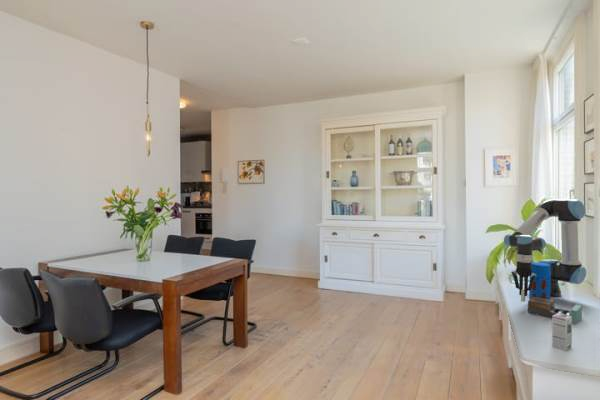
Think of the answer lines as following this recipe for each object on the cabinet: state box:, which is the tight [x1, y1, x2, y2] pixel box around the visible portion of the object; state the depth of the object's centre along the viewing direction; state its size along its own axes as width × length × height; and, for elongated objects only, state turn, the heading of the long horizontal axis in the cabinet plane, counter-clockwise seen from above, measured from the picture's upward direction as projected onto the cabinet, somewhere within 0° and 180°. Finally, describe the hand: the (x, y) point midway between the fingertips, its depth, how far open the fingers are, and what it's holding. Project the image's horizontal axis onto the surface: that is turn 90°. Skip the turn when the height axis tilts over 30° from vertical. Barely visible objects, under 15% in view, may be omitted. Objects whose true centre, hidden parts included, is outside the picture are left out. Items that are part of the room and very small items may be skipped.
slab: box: [527, 297, 555, 312], centre depth 210 cm, size 12×10×4 cm
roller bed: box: [527, 307, 571, 319], centre depth 206 cm, size 11×20×3 cm, turn 43°
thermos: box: [528, 261, 551, 300], centre depth 225 cm, size 11×11×25 cm
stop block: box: [570, 304, 583, 325], centre depth 198 cm, size 13×3×7 cm, turn 133°
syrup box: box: [551, 313, 573, 352], centre depth 164 cm, size 6×6×14 cm
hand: (523, 301), depth 216 cm, fingers closed
